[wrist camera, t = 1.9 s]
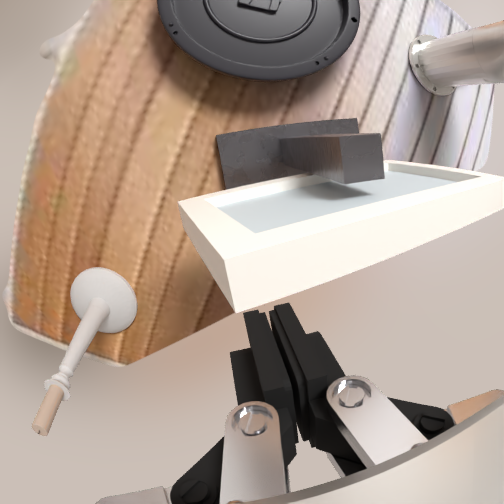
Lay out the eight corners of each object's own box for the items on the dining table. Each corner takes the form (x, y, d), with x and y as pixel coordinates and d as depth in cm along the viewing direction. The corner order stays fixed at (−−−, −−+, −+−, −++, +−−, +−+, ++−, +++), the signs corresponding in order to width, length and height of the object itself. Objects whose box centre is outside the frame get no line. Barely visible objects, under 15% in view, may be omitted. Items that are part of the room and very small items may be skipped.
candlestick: (123, 260, 47) (49, 390, 19) (147, 325, 52) (114, 469, 24) (61, 275, 47) (-30, 388, 19) (87, 335, 51) (32, 461, 23)
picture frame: (388, 159, 40) (509, 178, 22) (389, 179, 41) (508, 206, 23) (177, 201, 32) (223, 259, 14) (183, 227, 33) (235, 313, 16)
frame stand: (352, 118, 44) (449, 112, 23) (359, 172, 48) (454, 199, 26) (216, 135, 43) (222, 126, 21) (226, 193, 46) (243, 239, 25)
